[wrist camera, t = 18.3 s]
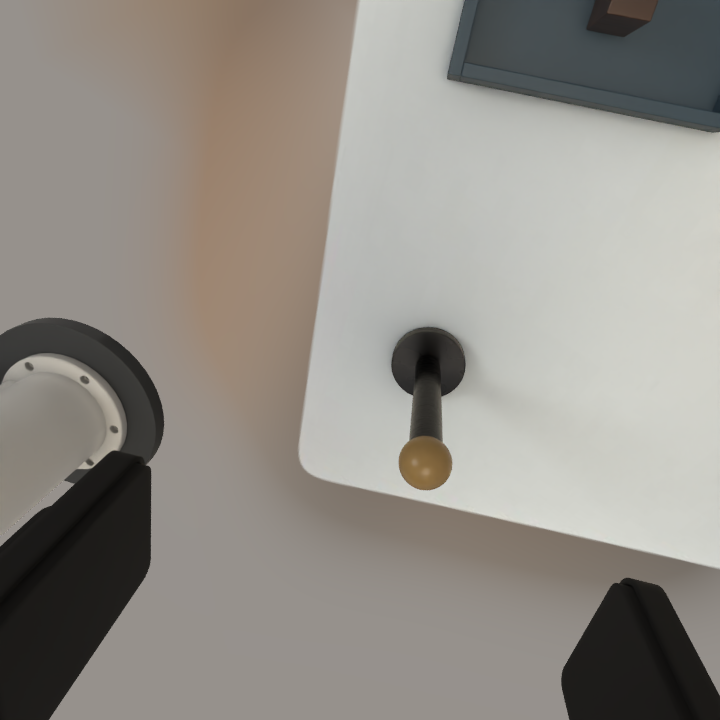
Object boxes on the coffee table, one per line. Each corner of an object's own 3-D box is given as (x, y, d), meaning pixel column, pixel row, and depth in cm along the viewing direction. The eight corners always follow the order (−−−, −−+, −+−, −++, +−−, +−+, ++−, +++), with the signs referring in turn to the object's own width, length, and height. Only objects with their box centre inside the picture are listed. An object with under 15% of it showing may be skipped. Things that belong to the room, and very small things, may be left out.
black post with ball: (385, 383, 42) (360, 508, 27) (401, 319, 39) (381, 419, 25) (453, 399, 41) (464, 534, 27) (473, 336, 39) (496, 446, 24)
